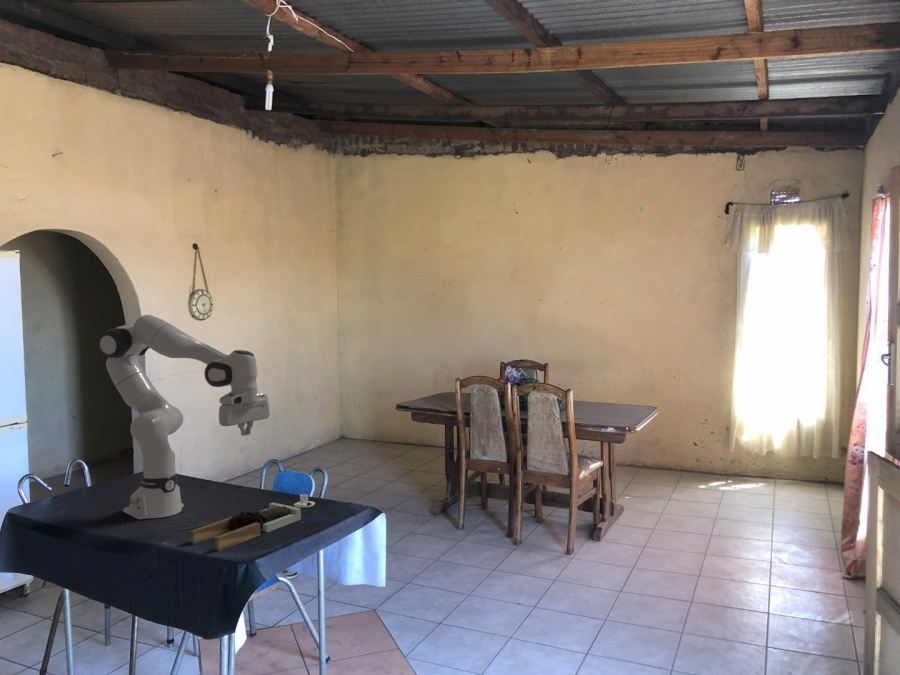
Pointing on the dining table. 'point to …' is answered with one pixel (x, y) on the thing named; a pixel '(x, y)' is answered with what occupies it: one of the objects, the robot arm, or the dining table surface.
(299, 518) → the frame
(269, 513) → the dark piece
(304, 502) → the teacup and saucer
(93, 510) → the dining table surface
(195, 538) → the oak channel
